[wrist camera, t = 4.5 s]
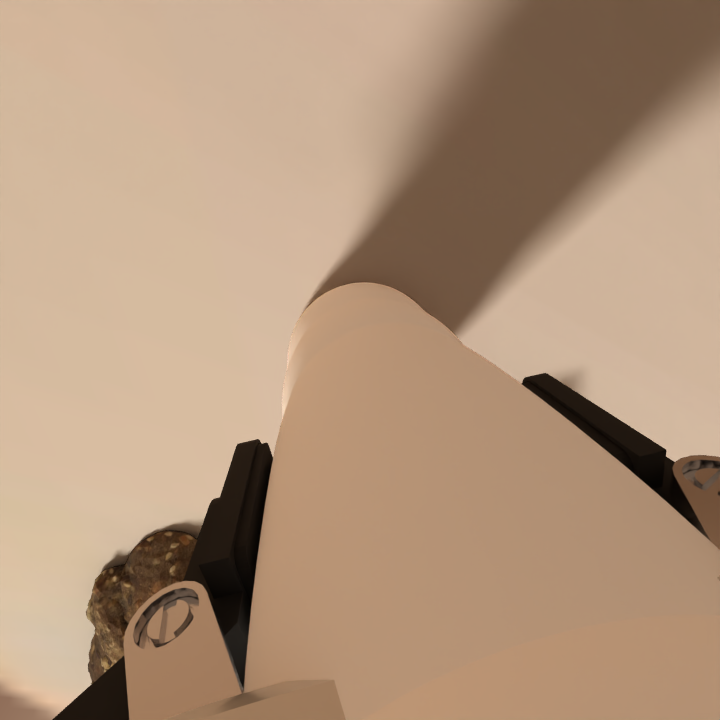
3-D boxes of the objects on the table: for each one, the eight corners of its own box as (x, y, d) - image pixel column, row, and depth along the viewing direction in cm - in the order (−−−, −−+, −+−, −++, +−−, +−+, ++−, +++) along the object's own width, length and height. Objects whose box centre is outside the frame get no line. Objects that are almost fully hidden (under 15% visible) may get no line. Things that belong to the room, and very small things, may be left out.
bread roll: (291, 673, 27) (287, 767, 23) (98, 681, 25) (50, 785, 20) (309, 527, 23) (309, 604, 18) (80, 522, 21) (16, 607, 16)
